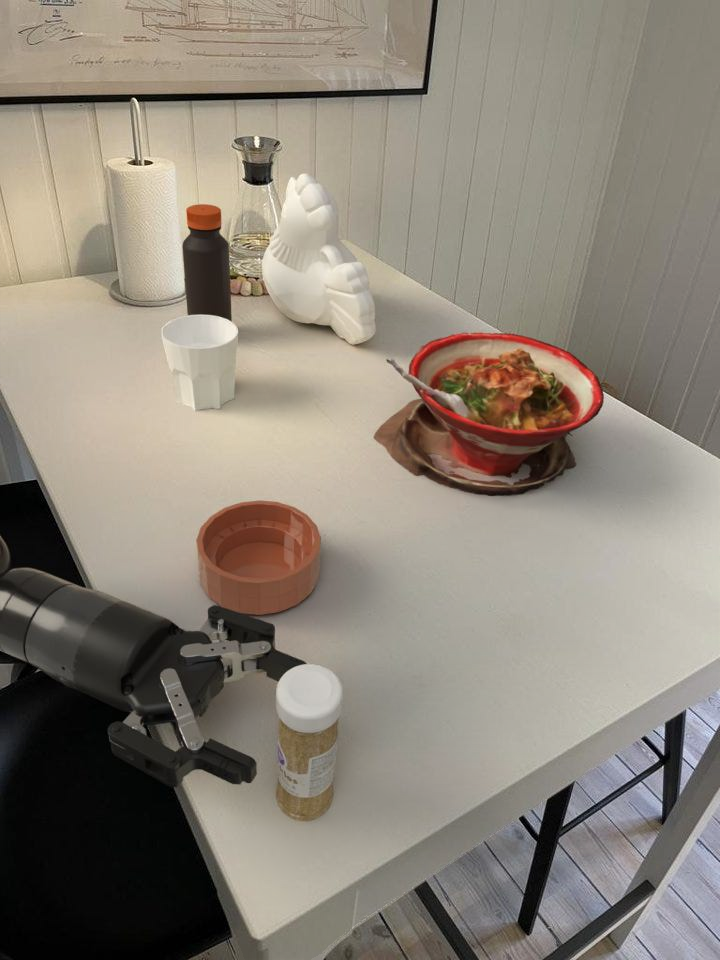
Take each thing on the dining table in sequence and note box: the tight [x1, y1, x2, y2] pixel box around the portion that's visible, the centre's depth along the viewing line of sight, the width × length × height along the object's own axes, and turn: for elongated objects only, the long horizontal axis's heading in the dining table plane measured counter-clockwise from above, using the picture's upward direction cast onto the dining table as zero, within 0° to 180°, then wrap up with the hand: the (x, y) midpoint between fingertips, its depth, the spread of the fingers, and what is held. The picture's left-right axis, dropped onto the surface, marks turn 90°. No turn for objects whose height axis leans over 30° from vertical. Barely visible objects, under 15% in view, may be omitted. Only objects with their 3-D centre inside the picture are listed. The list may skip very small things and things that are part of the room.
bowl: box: [196, 499, 322, 616], centre depth 77 cm, size 12×12×5 cm
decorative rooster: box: [261, 172, 377, 346], centre depth 118 cm, size 25×16×25 cm
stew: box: [373, 332, 605, 497], centre depth 94 cm, size 28×24×16 cm
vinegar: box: [181, 203, 233, 322], centre depth 114 cm, size 7×7×20 cm
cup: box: [160, 315, 239, 412], centre depth 103 cm, size 10×10×10 cm
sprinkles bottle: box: [275, 663, 344, 821], centre depth 55 cm, size 5×5×13 cm
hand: (284, 724), depth 55 cm, fingers open, 8 cm apart
